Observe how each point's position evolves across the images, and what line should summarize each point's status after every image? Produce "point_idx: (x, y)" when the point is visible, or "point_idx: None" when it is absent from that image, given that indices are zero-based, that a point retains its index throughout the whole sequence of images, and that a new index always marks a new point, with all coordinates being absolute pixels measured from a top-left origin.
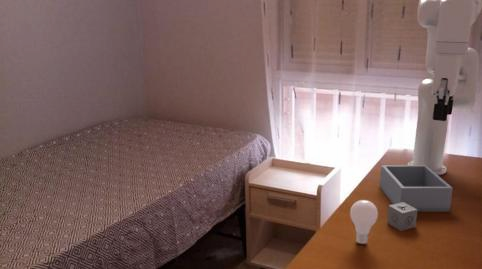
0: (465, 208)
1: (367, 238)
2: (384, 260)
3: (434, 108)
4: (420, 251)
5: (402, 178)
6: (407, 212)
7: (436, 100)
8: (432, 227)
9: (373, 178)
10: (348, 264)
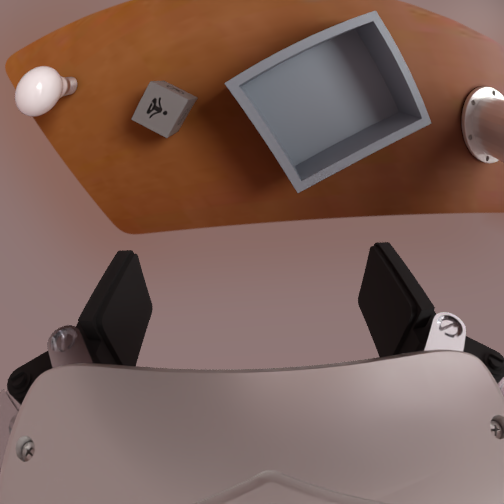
0: (323, 199)
1: (68, 94)
2: (54, 134)
3: (93, 298)
4: (103, 164)
5: (384, 67)
6: (142, 124)
7: (50, 354)
8: (196, 157)
9: (394, 9)
10: None
